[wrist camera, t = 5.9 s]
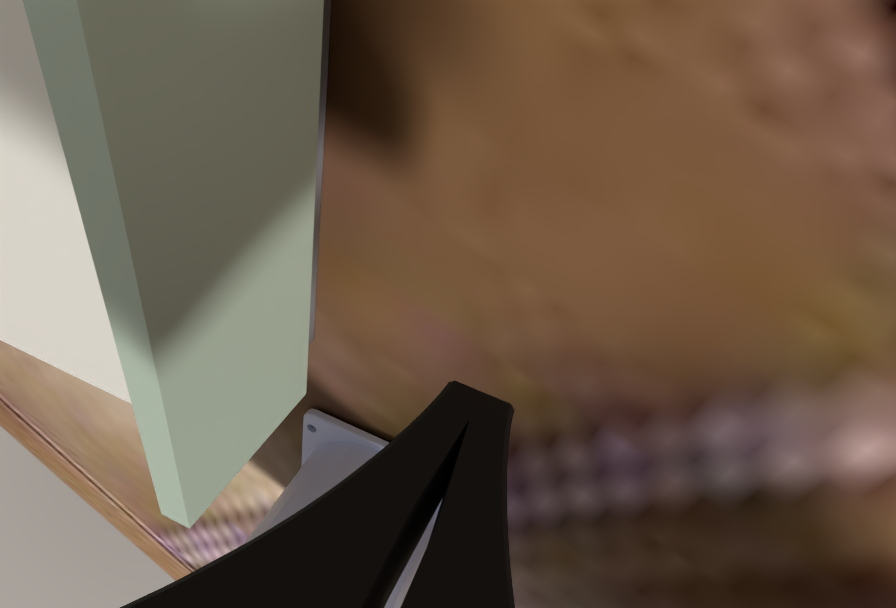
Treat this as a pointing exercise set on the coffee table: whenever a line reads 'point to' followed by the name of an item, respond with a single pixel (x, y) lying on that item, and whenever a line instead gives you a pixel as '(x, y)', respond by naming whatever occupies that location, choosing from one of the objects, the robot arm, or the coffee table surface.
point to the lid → (164, 215)
